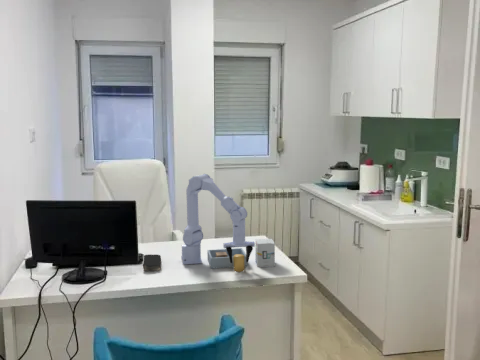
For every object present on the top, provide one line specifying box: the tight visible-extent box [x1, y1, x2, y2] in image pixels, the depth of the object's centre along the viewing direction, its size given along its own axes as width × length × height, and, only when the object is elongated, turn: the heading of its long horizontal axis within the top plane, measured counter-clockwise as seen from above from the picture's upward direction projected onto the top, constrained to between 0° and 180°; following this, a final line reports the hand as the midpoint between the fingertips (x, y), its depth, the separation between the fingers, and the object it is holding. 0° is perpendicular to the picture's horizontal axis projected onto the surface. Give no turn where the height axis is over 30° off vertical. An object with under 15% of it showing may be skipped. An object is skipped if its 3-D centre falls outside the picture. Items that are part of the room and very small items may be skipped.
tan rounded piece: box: [233, 254, 245, 273], centre depth 229 cm, size 5×5×7 cm
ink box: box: [255, 238, 276, 268], centre depth 237 cm, size 8×8×12 cm
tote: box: [206, 247, 248, 269], centre depth 240 cm, size 18×14×5 cm
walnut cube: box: [216, 252, 227, 257], centre depth 237 cm, size 5×5×5 cm
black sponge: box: [142, 254, 162, 272], centre depth 235 cm, size 16×8×4 cm, turn 9°
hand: (239, 261), depth 229 cm, fingers open, 7 cm apart
